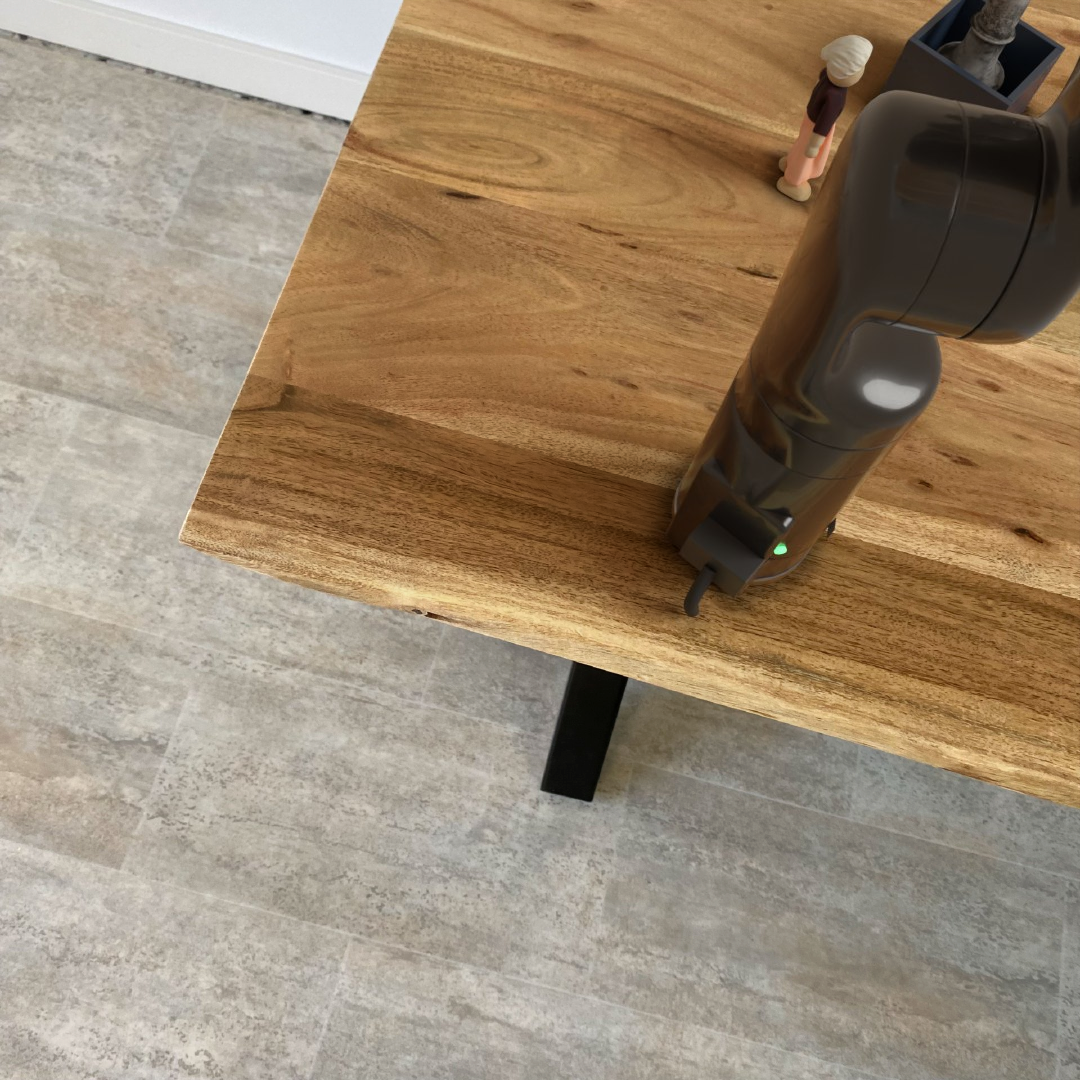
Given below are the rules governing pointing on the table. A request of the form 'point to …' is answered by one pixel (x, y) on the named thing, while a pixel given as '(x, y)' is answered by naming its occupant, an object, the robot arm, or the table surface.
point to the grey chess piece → (987, 40)
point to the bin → (942, 78)
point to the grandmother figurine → (823, 114)
